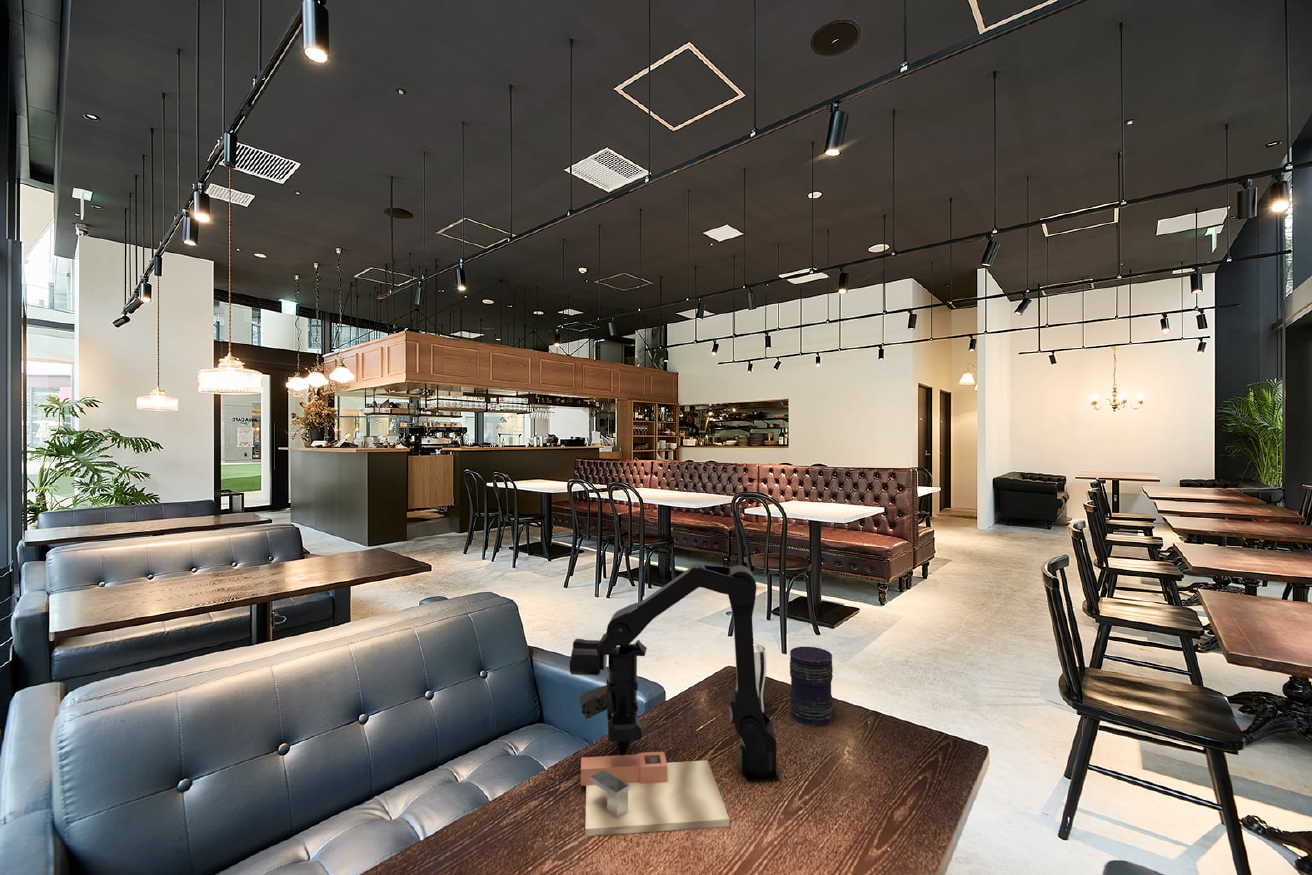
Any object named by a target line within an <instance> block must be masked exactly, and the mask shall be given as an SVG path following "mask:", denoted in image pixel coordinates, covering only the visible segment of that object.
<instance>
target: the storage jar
mask: <svg viewBox="0 0 1312 875" xmlns="http://www.w3.org/2000/svg"><path fill="white" fill-rule="evenodd" d="M789 656H790V658H789V660H790V661H789V676H790V683H791V684H790V690H789V691H790V692H789V708H790V712H789V716H790V715H791V717H792V718H791V717H790V718H791V719H792V720H793V719H794V720H795V721H796V722H795V721H794V720H793V721H794V722H795V723H797V724H799V723H800V724H799V725H801V724H804V725H807V726H806V727H809V726H813V727H812V728H823V727H822V726H824V727H826V726H825V725H827V724H829V725H831V724H832V723H831V722H833V716H832V715H833V710H834V704H833V695H832V681H833V671H834V670H833V668H834V666H833V654H832V653H831V652H830V651H828V650H827V649H823V648H821V647H815V646H796V647H793V648H792V649H790V652H789ZM830 723H831V724H830ZM804 725H803V726H804ZM827 726H828V725H827Z"/></svg>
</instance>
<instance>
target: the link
mask: <svg viewBox="0 0 1312 875" xmlns="http://www.w3.org/2000/svg"><path fill="white" fill-rule="evenodd" d="M650 756H655V757H657V764H648V762H649V757H650ZM580 758H581V759H580V760H581V761H580V786H582V787H583V786H585V787H586V785H595V784H594V783H592V782H591V781H590V776H592V775H594V774H596V773H598V772H600V771H602V770H605V771H606V772H608V773H610V774H611V775H613V776H615V777H616V778H618V779H620V780H621V781H623V782H625V783H635V782H640V784H645V783H662V782H667V763H668V762H667V760H666V758H667V757H666V754H665V751H653V752H652V751H651V752H650V751H649V752H638V754H625V755H620V754H619V755H618V754H617V755H606V756H605V755H604V756H586V757H582V756H581V757H580Z"/></svg>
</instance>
